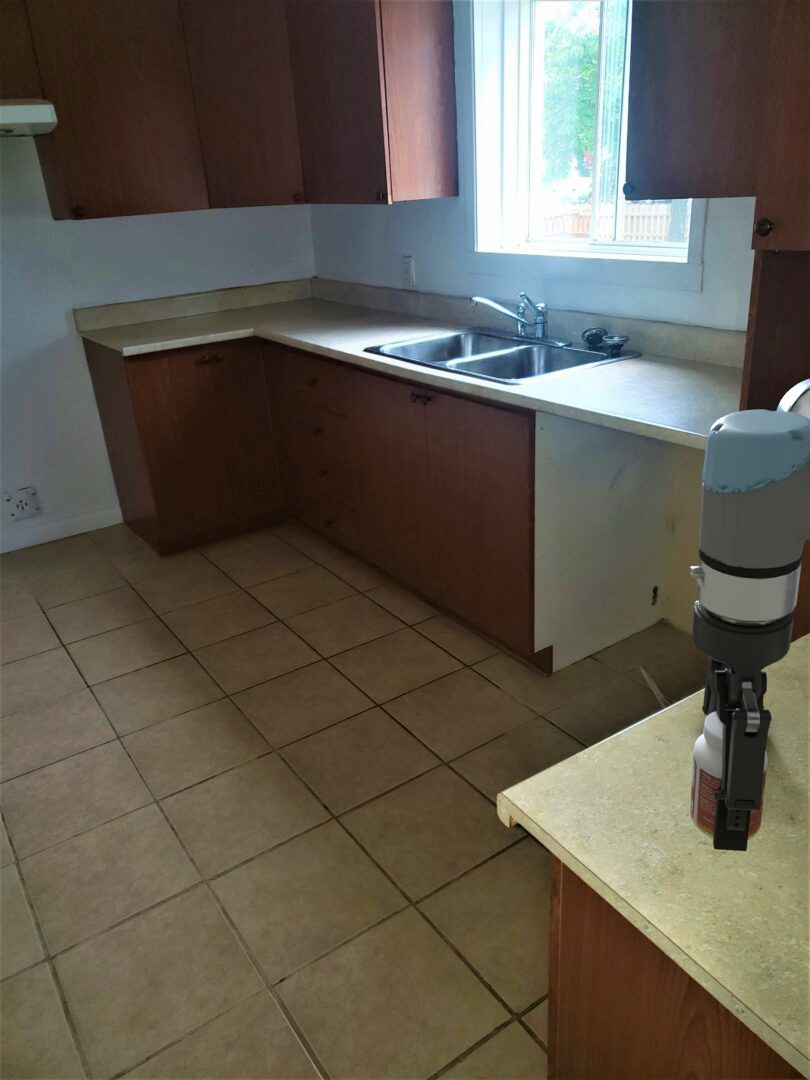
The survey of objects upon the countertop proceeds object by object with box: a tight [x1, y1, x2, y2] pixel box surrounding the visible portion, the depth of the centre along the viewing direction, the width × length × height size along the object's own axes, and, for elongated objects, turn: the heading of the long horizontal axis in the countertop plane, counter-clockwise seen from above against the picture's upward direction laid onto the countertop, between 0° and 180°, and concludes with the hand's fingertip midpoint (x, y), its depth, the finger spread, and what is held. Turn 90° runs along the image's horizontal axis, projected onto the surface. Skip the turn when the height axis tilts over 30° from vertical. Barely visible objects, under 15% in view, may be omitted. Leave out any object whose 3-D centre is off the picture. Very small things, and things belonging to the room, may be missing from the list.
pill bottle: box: [689, 710, 769, 841], centre depth 73 cm, size 6×6×11 cm
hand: (722, 818), depth 76 cm, fingers closed on pill bottle, 6 cm apart
